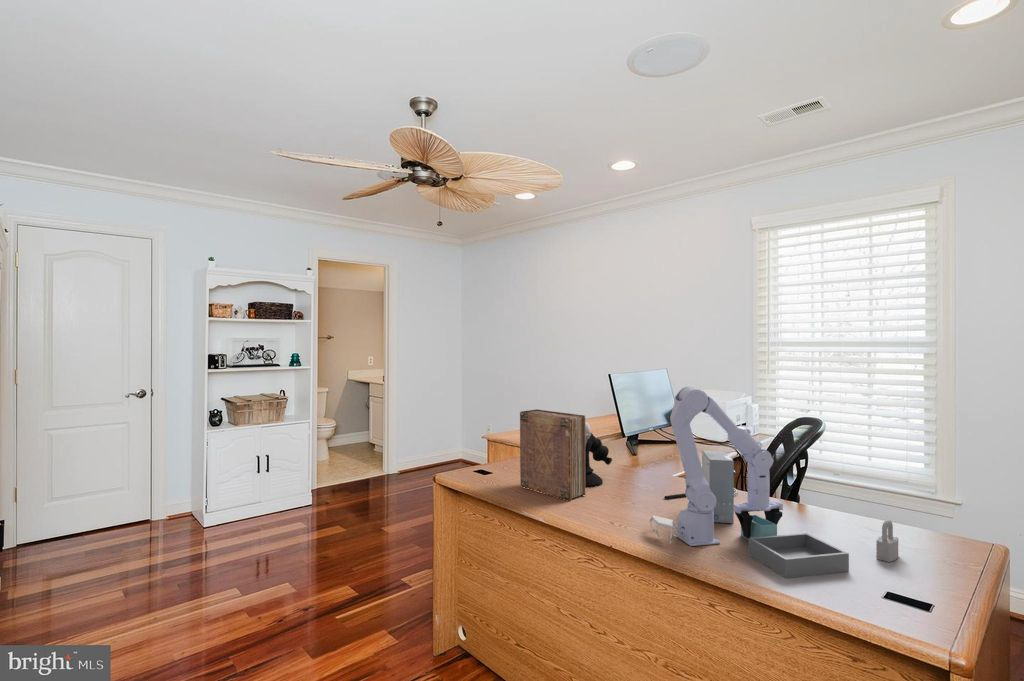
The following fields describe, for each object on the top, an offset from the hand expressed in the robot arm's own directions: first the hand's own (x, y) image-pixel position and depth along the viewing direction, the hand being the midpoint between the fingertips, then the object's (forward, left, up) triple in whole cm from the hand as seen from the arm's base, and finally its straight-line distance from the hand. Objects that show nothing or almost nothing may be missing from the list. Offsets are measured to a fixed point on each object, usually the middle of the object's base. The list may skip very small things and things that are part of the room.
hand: (758, 535), depth 149 cm
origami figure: (-25, +9, -2) cm, 27 cm away
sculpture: (-25, +71, -2) cm, 75 cm away
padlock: (+26, -17, -2) cm, 31 cm away
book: (-45, +59, -2) cm, 74 cm away
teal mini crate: (0, 0, -1) cm, 1 cm away
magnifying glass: (+8, +44, -2) cm, 45 cm away
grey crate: (0, -15, -1) cm, 15 cm away
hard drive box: (+1, +22, -2) cm, 22 cm away
